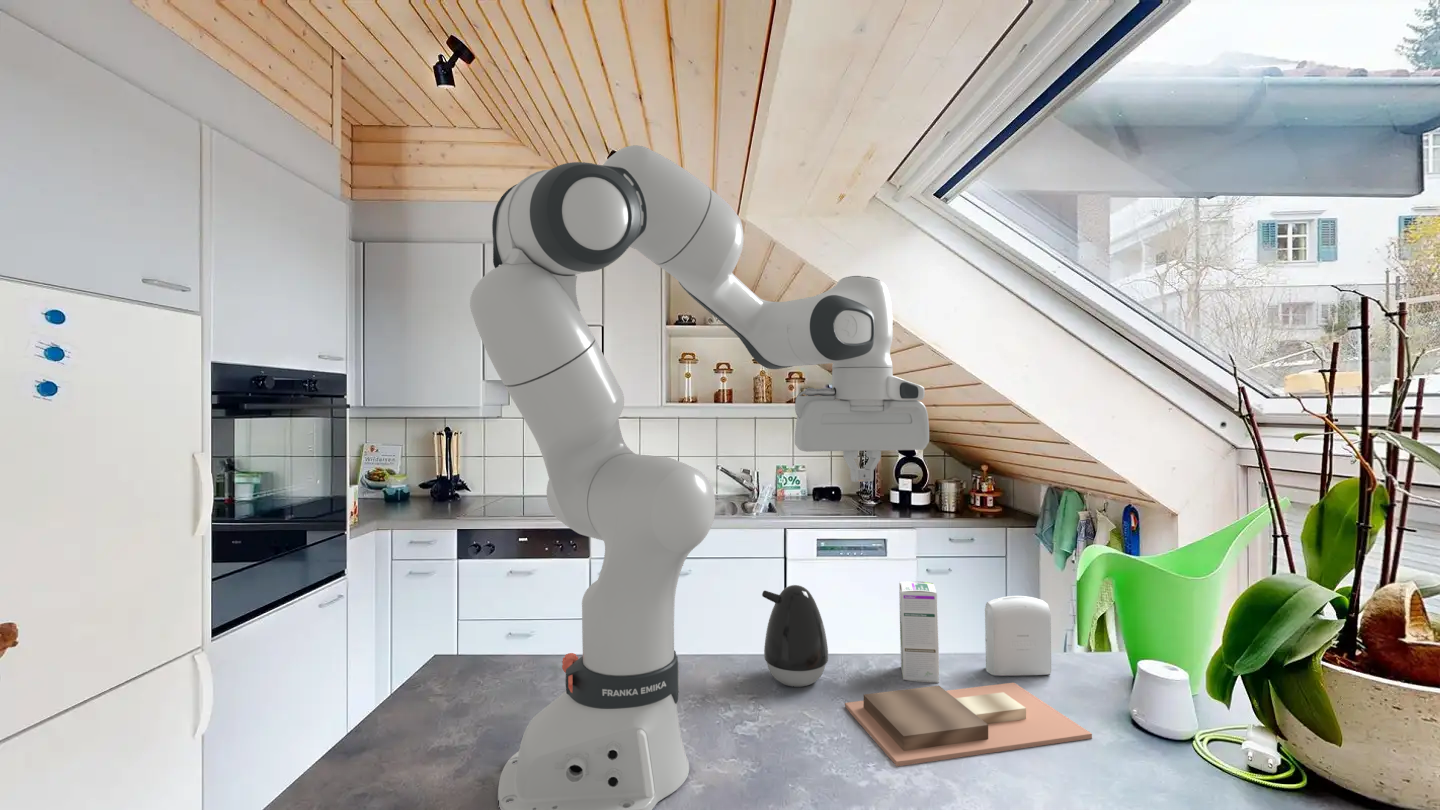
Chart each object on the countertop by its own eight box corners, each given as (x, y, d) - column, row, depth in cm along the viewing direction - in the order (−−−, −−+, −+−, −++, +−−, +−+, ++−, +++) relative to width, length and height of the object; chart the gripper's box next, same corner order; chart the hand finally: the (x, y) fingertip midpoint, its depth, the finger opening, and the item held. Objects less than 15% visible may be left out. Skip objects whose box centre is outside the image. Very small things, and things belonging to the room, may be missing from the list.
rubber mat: (896, 766, 82) (896, 761, 82) (845, 706, 98) (845, 702, 98) (1092, 738, 88) (1091, 733, 88) (1013, 686, 104) (1013, 682, 104)
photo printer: (991, 678, 107) (991, 601, 107) (981, 667, 112) (980, 593, 111) (1056, 677, 107) (1055, 600, 107) (1043, 666, 111) (1043, 592, 111)
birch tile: (974, 725, 91) (974, 714, 91) (953, 708, 96) (953, 698, 96) (1026, 718, 93) (1026, 708, 93) (1003, 702, 98) (1003, 692, 97)
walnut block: (903, 755, 85) (903, 736, 85) (863, 711, 97) (863, 694, 96) (988, 743, 87) (988, 724, 87) (939, 702, 99) (939, 685, 99)
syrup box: (940, 683, 105) (939, 591, 105) (901, 680, 107) (900, 590, 106) (935, 668, 111) (935, 581, 111) (899, 666, 112) (898, 580, 112)
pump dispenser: (762, 666, 113) (761, 576, 112) (824, 666, 112) (823, 576, 112) (764, 694, 103) (762, 595, 102) (832, 694, 102) (831, 595, 102)
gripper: (802, 387, 94) (802, 485, 95) (934, 388, 99) (934, 482, 99) (788, 388, 101) (788, 480, 101) (913, 388, 105) (913, 477, 105)
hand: (861, 481), depth 100 cm, fingers closed
